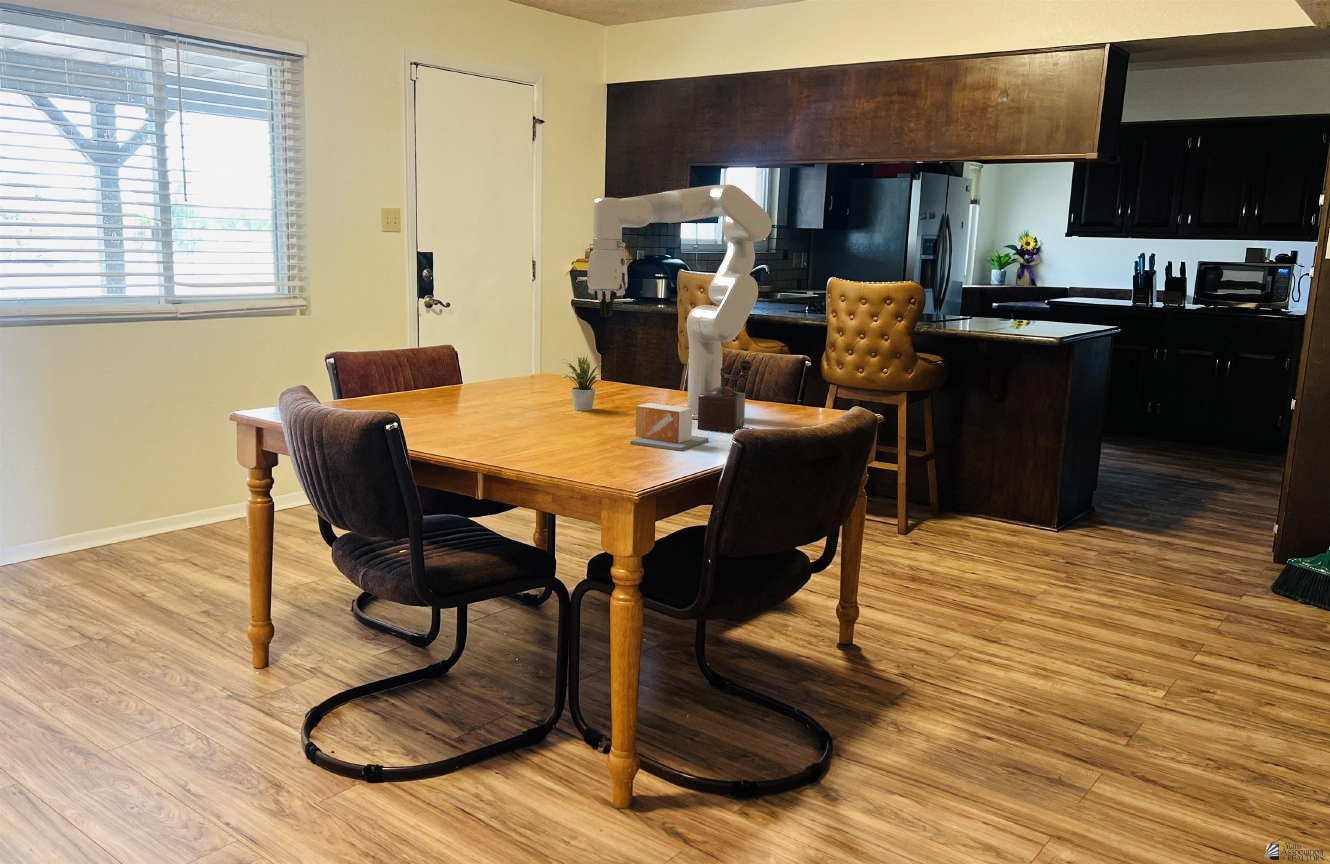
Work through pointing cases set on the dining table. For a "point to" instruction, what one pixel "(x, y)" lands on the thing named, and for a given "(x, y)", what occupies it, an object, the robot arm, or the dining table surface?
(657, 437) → the small box
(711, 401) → the manual coffee grinder
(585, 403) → the house plant
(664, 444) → the mat
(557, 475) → the dining table surface
